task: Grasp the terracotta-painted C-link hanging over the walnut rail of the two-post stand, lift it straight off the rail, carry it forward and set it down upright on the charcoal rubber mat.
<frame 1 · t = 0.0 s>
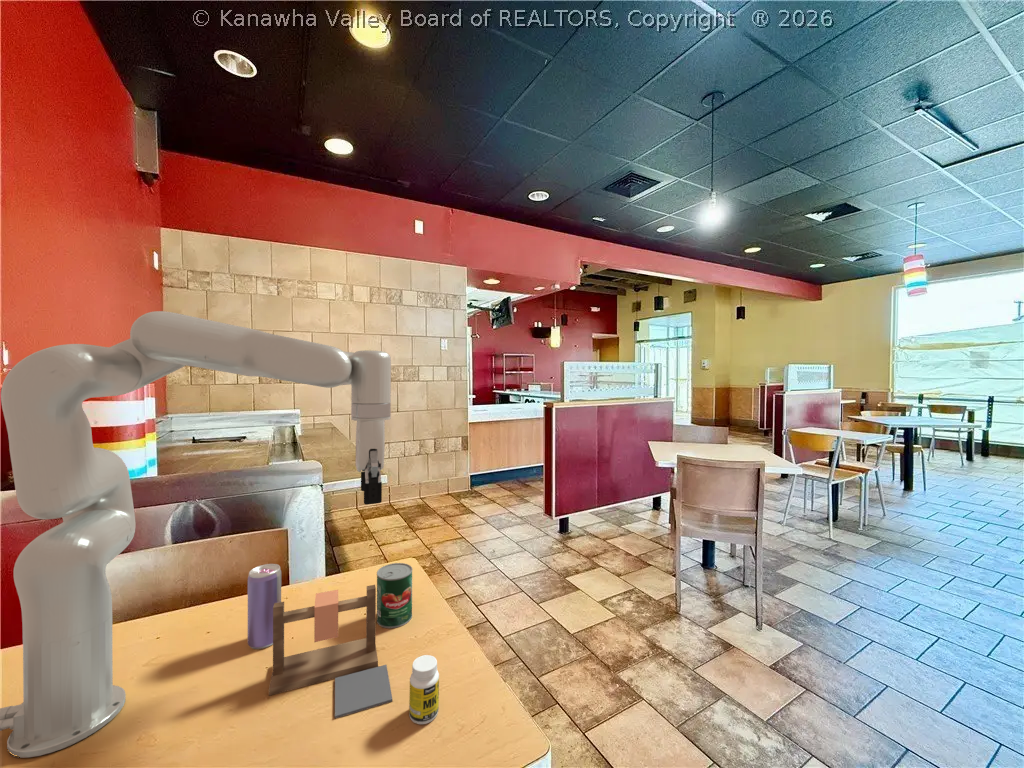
hand: (370, 496, 82), 31 cm above the table, fingers open, 9 cm apart
c link: (326, 631, 77), point 7 cm above the table, touching stand
mat: (362, 690, 71), on the table
beverage can: (264, 641, 84), on the table
canned tomato: (394, 618, 93), on the table
stand: (326, 666, 77), on the table
supplement bottle: (424, 714, 66), on the table
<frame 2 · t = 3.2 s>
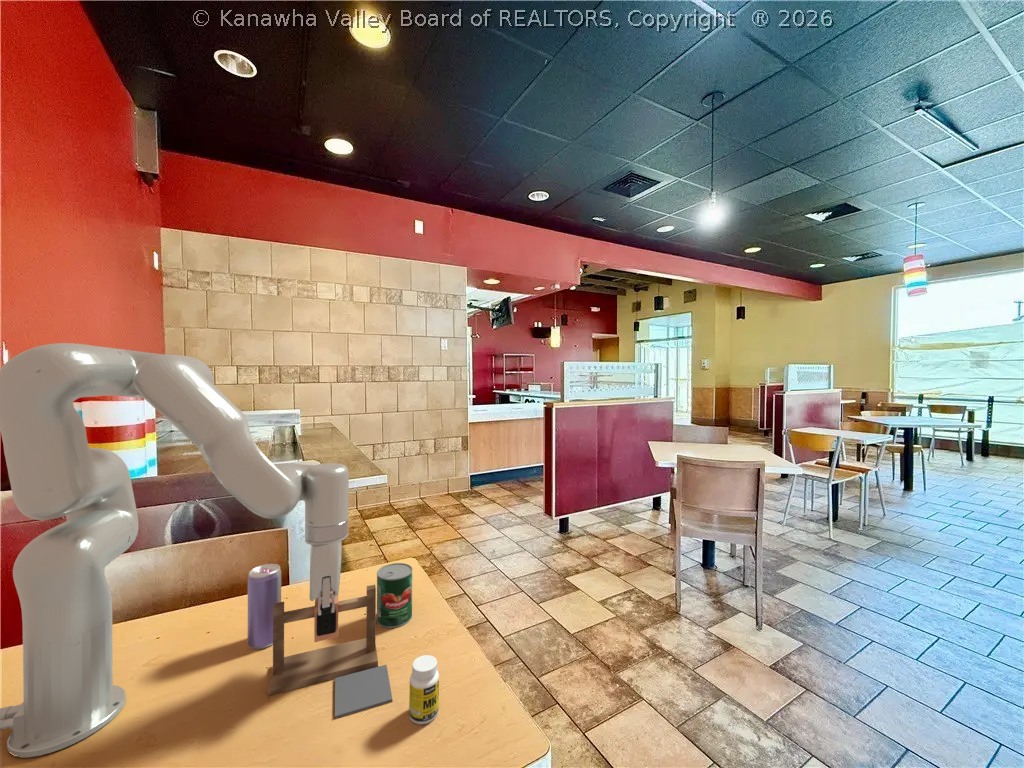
hand: (326, 623, 77), 8 cm above the table, fingers closed on c link, 5 cm apart
c link: (326, 631, 77), point 7 cm above the table, touching gripper, stand
everything else where it was.
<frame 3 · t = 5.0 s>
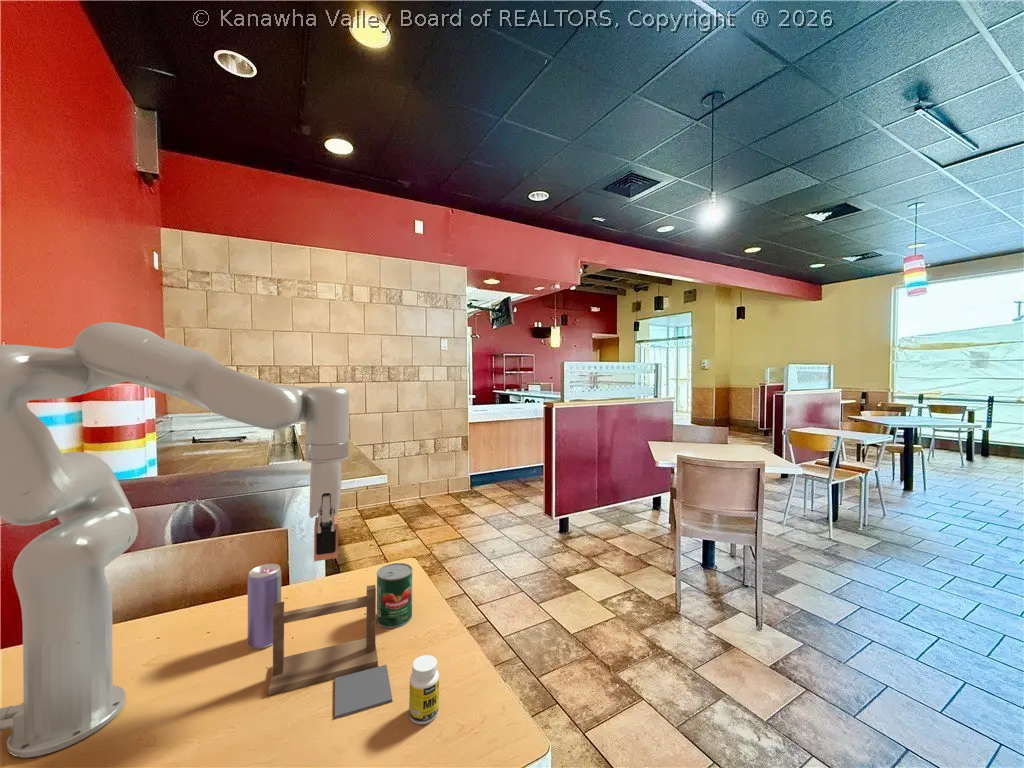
hand: (326, 545, 77), 23 cm above the table, fingers closed on c link, 5 cm apart
c link: (326, 553, 77), point 22 cm above the table, touching gripper
everything else where it was.
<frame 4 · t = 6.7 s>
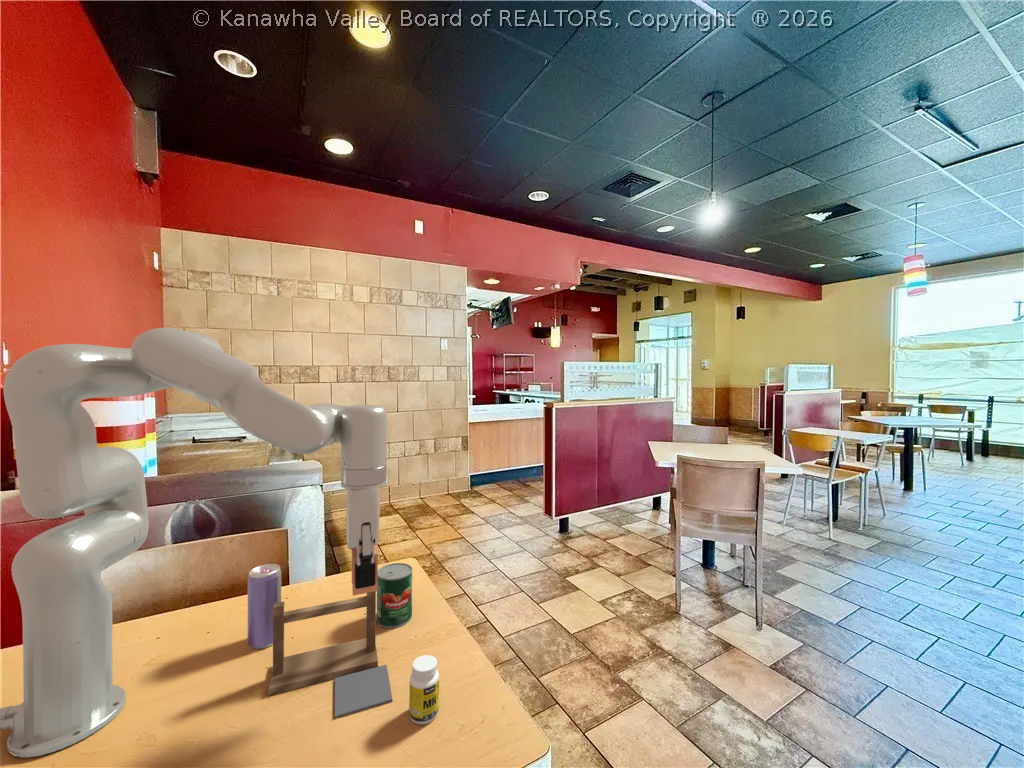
hand: (364, 577, 71), 20 cm above the table, fingers closed on c link, 5 cm apart
c link: (364, 585, 71), point 19 cm above the table, touching gripper
everything else where it was.
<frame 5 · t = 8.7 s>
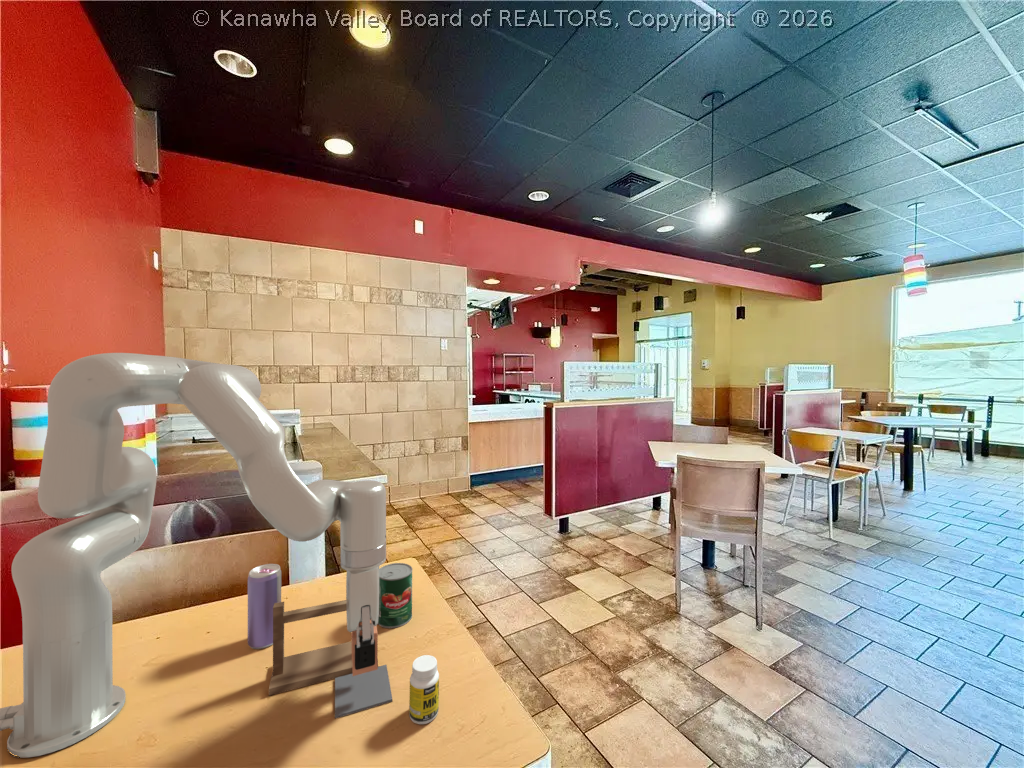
hand: (363, 654, 71), 6 cm above the table, fingers closed on c link, 5 cm apart
c link: (364, 662, 71), point 5 cm above the table, touching gripper
everything else where it was.
when the fingers open (3 cm above the table, at t = 10.4 s): c link stays where it is, resting on mat.
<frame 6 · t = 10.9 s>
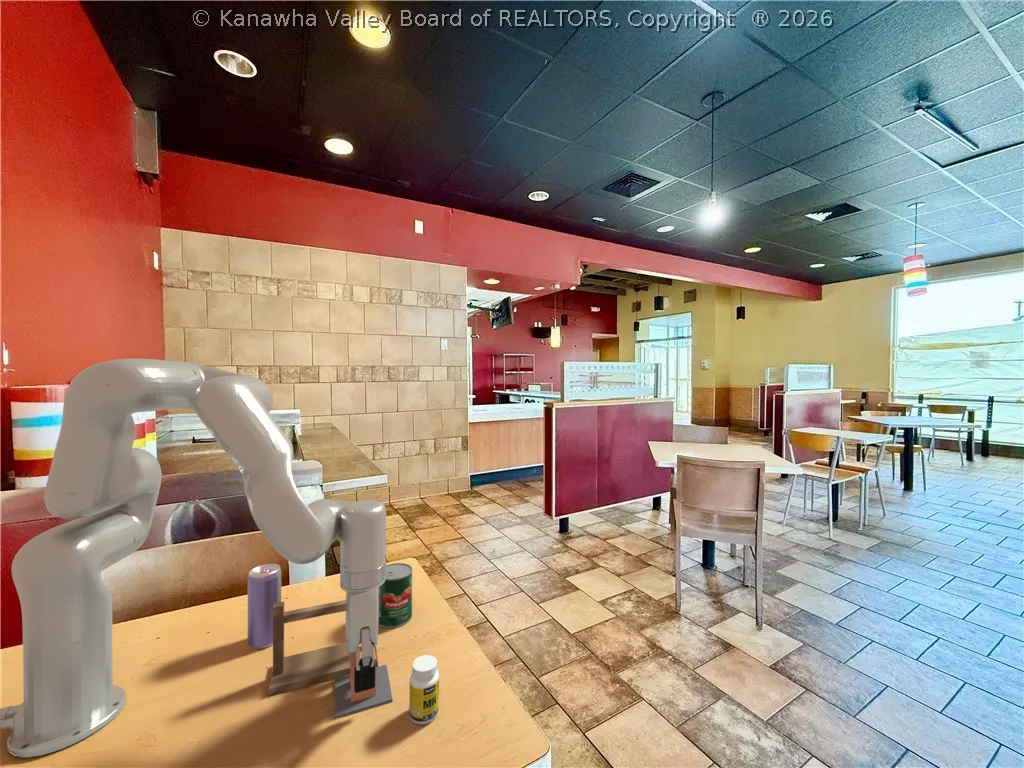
hand: (362, 669, 71), 4 cm above the table, fingers open, 9 cm apart
c link: (362, 688, 71), resting on mat
everything else where it was.
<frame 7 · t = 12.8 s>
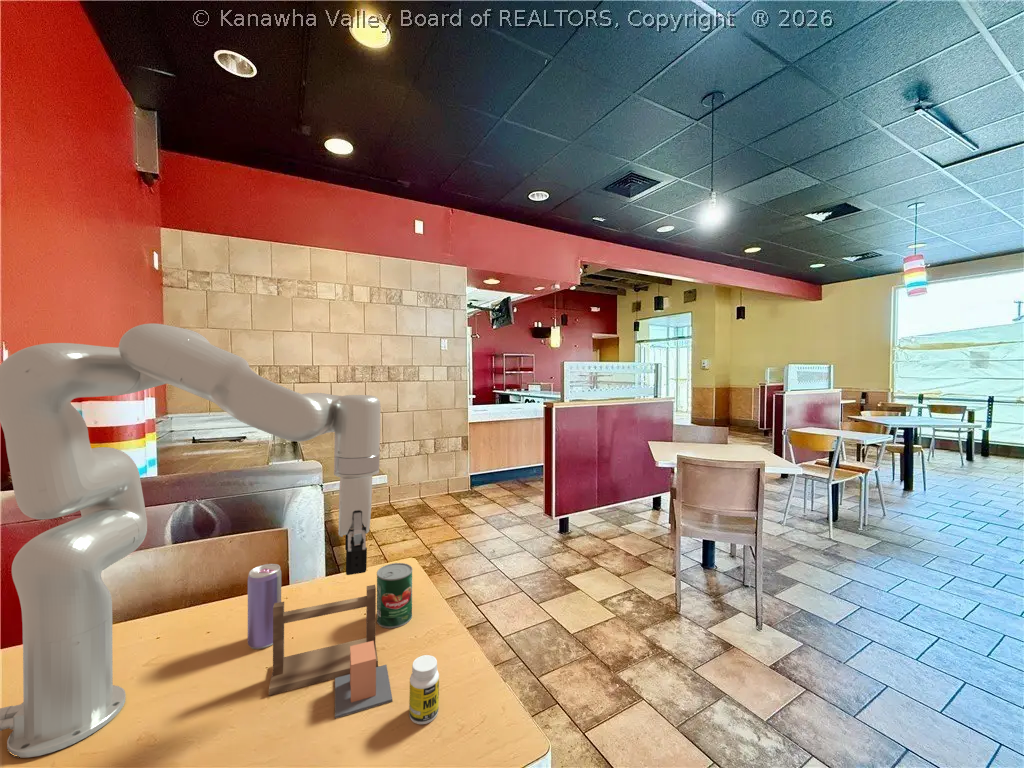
hand: (355, 560, 72), 23 cm above the table, fingers open, 9 cm apart
nothing on the table moved.
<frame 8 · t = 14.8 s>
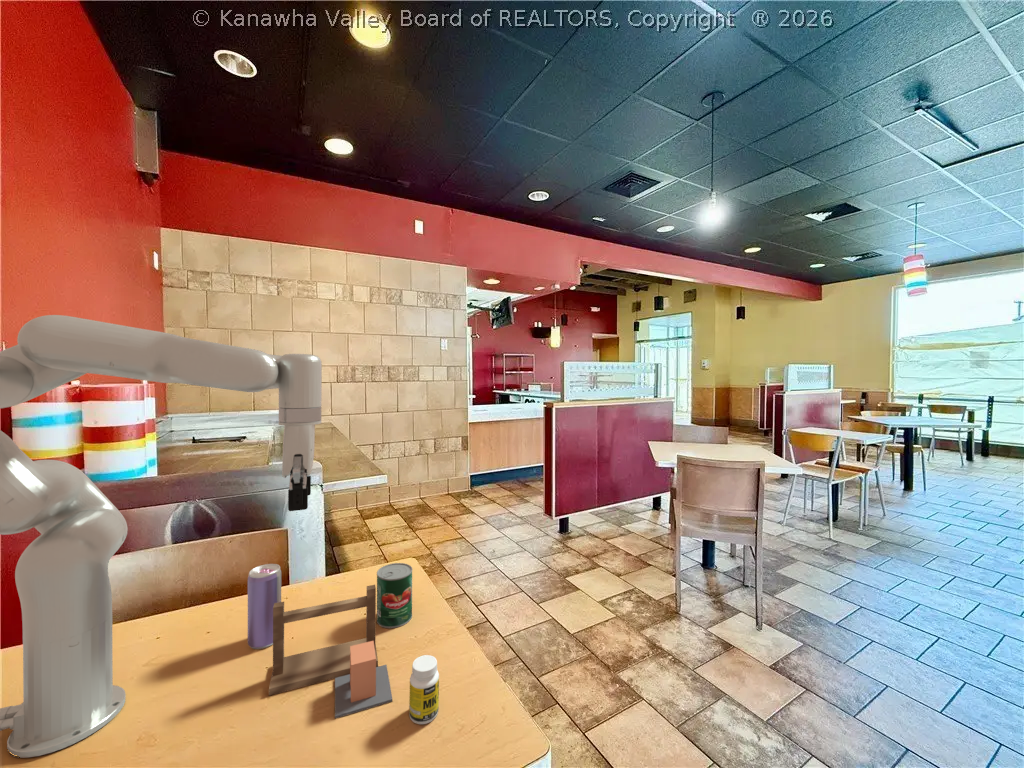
hand: (300, 502, 80), 30 cm above the table, fingers open, 9 cm apart
nothing on the table moved.
at the end: c link inside the target area on the mat (0.0 cm from its centre), point 0.4 cm above the mat's base; c link tilted 0°; c link touching mat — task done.
